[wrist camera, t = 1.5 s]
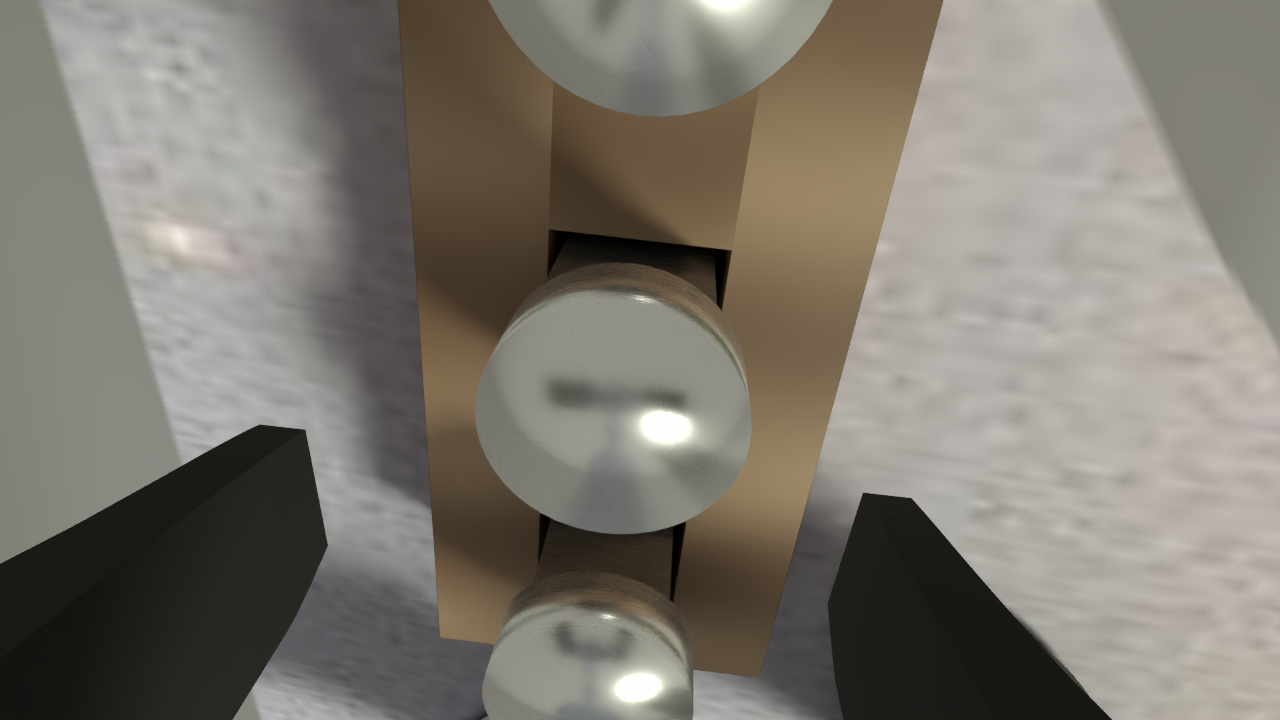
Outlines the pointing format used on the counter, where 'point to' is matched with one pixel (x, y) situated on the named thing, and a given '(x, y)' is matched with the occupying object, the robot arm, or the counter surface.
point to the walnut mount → (663, 212)
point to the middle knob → (618, 389)
